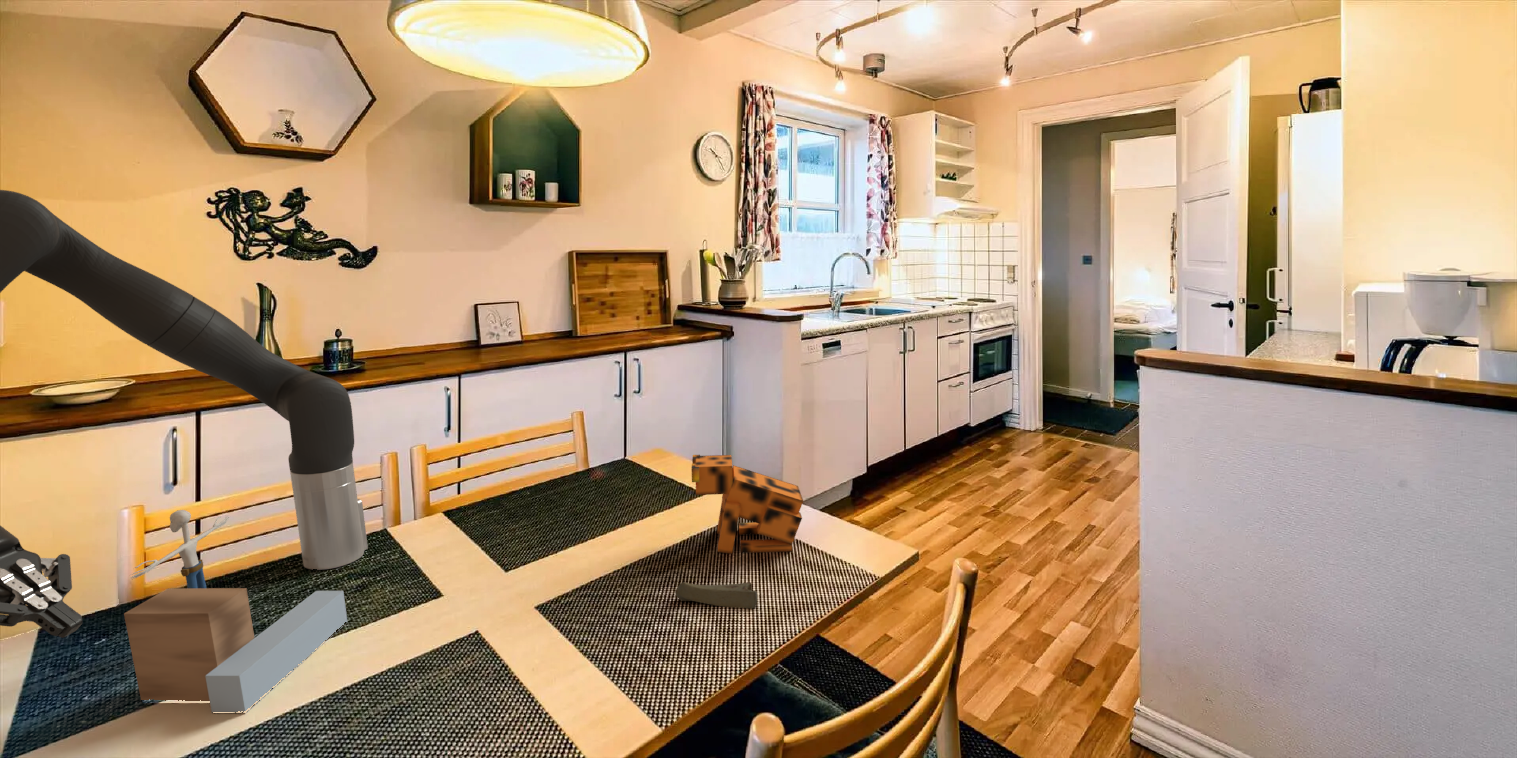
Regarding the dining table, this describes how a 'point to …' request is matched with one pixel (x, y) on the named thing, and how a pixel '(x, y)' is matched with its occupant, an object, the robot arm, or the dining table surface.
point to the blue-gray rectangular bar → (275, 652)
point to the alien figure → (185, 550)
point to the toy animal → (749, 504)
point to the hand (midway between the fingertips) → (73, 630)
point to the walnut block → (186, 639)
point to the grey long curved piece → (719, 594)
